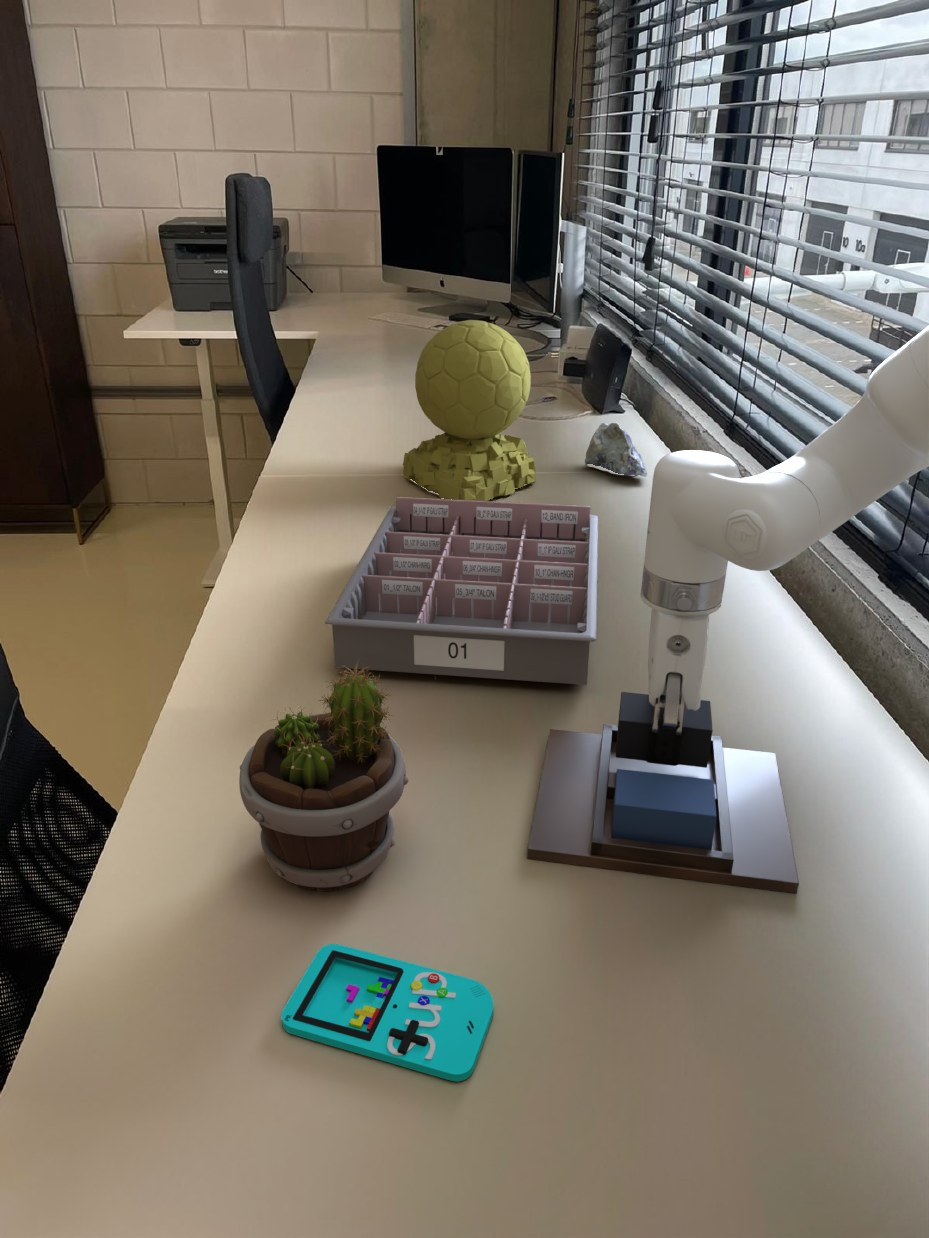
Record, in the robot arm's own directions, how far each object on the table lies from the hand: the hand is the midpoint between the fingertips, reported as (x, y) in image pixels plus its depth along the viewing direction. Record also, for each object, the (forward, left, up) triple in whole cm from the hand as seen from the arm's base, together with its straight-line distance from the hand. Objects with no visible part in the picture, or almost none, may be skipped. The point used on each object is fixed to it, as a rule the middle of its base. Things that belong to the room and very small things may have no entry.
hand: (662, 743), depth 97 cm
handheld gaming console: (+20, +34, -4) cm, 40 cm away
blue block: (0, +10, -3) cm, 11 cm away
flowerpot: (+30, +18, -4) cm, 35 cm away
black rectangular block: (0, 0, 0) cm, 0 cm away
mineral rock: (+9, -98, -4) cm, 98 cm away
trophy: (+36, -88, -4) cm, 95 cm away
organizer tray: (+25, -33, -4) cm, 41 cm away
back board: (0, +5, -4) cm, 7 cm away
